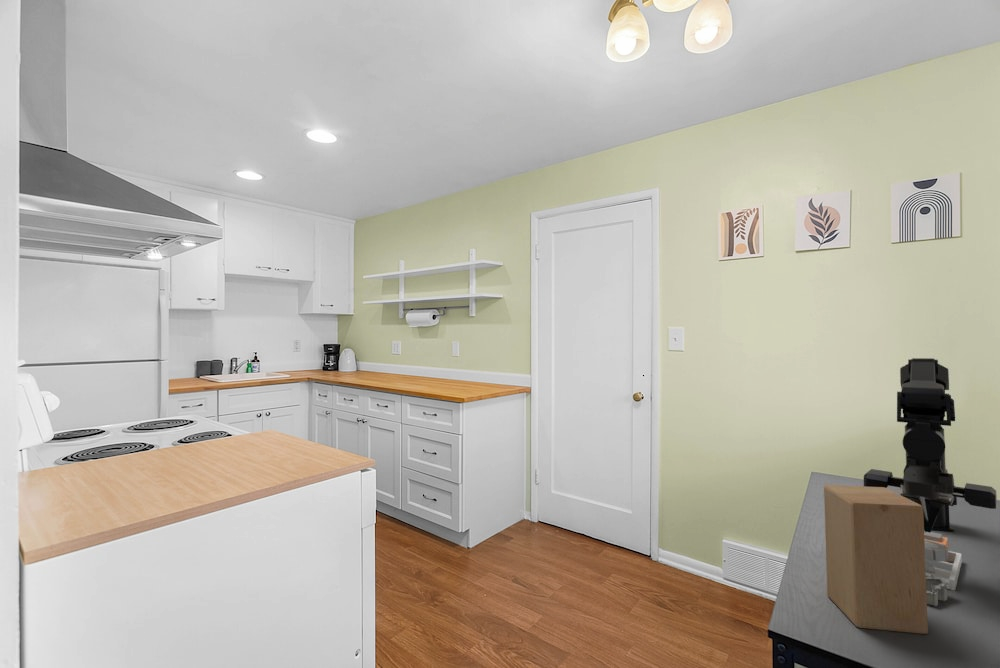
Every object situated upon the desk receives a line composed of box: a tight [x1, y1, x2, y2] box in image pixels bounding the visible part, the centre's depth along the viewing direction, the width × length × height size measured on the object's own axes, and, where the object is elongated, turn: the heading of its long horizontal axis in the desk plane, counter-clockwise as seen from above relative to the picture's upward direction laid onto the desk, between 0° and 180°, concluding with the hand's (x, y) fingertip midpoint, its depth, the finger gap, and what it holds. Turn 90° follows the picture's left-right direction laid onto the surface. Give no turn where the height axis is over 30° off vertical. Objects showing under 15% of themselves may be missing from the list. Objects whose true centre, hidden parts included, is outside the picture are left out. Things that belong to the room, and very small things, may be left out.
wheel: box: [924, 540, 949, 561], centre depth 90 cm, size 5×5×2 cm
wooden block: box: [823, 484, 929, 635], centre depth 78 cm, size 10×10×20 cm
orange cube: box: [924, 531, 950, 563], centre depth 96 cm, size 5×4×6 cm
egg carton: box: [926, 574, 949, 607], centre depth 86 cm, size 11×8×4 cm
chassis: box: [925, 550, 963, 591], centre depth 93 cm, size 16×8×2 cm, turn 132°
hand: (927, 531), depth 90 cm, fingers closed
